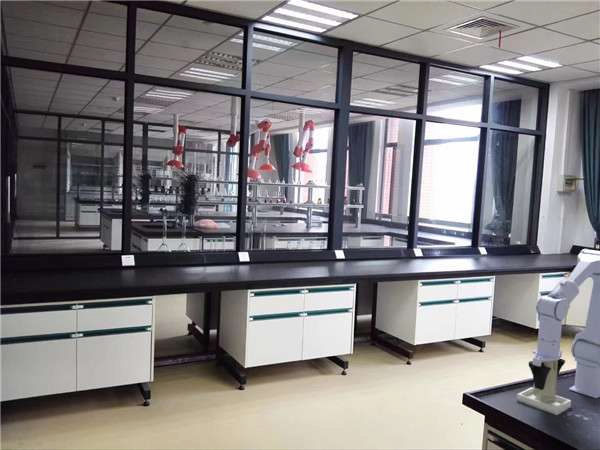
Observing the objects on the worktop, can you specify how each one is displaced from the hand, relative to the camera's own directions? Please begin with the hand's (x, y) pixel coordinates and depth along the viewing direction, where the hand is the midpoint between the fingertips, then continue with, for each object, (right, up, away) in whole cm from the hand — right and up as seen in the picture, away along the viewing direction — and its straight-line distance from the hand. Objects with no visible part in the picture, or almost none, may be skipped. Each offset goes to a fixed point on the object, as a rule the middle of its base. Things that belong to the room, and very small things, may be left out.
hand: (545, 385), depth 141 cm
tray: (0, -5, 0) cm, 5 cm away
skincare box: (0, -4, 0) cm, 4 cm away
